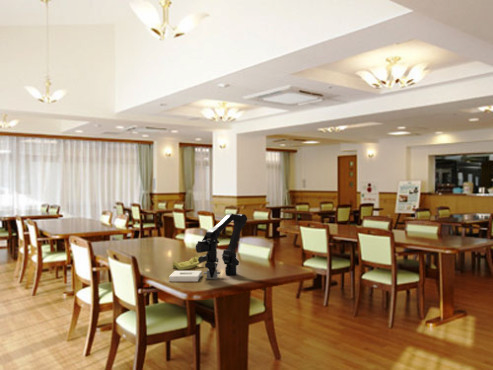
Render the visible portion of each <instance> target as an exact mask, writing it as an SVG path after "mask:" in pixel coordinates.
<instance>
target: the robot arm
mask: <svg viewBox="0 0 493 370" xmlns="http://www.w3.org/2000/svg"><path fill="white" fill-rule="evenodd" d="M247 221H248V217H247V215H246V214H244V213H236V214H235V213H227V214H226V216H224V218H222V219H221V220H220V222H218V224H216V225H215V226H213V227H211V228H209V229H207V230H206V232H205V234H204V237H203V238H202V239H201V241H200V240H198V241H197V243H196V244H195V251H196V253H198V254H199V253H200V254H201V253H205V254H204V255H201V256H200V257H199V258H198V262H199V265H200V264H202V263H205V264H204V268H206V269H207V270H208V269H209V272H210V276H211V278H212V277H213V275H214V272H215V269H217V267H218V264H219V262H220V261H219V258H218V257H217V256H218V251H217V246H218V245H217V244H220V241H219V240H218V239H219V237H220V235H221V233H222V232H223V230H224V229H225V228H226V227H227V226H228V225H229V224H230V223H232V222H233V226H234V227H233V229H232V233H231V235H230V236H231V237H230V239H229V243H228V247H227V248H226V249H223V252H222V254H221V256H222V257H221V258H222V261H223V264H224V265H225V269H224V270H225V275H226V276H237V275H238V272H237V266H239V264H240V261H239V260H238V258H237V246H238V242H239V238H240V236H241V232H242V229H243V228H244V226H245V225H246V223H247Z"/></svg>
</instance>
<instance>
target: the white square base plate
mask: <svg viewBox="0 0 493 370" xmlns="http://www.w3.org/2000/svg"><path fill="white" fill-rule="evenodd" d="M202 276H203V273H202V270H174V271H173V272H172V273H171V274H170V275H169V276H168V282H199V280H200V279H201V277H202Z"/></svg>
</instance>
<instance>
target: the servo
mask: <svg viewBox="0 0 493 370" xmlns="http://www.w3.org/2000/svg"><path fill="white" fill-rule="evenodd" d="M202 275H206V280H217V279H218V275H221V271H218V269H217V268H216V269H215V272H214V275H213V277H212V278H211V276H210V272H209V269H208V268H207V270H206V271H204V272H203V273H202Z"/></svg>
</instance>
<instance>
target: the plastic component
mask: <svg viewBox="0 0 493 370" xmlns="http://www.w3.org/2000/svg"><path fill="white" fill-rule="evenodd" d="M199 257H201V256H200V255H196V256H195V257H194V256H193V257H191V258H190V259H189V260H187V261H182V262H179V263H178V262H177V261H176V260H173V263H172V265H171V267H172V268H173V269H177V270H178V271H187V270H189V269H194V268H196V267H197V266H199V265H200V264H199V262H198V258H199Z"/></svg>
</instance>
